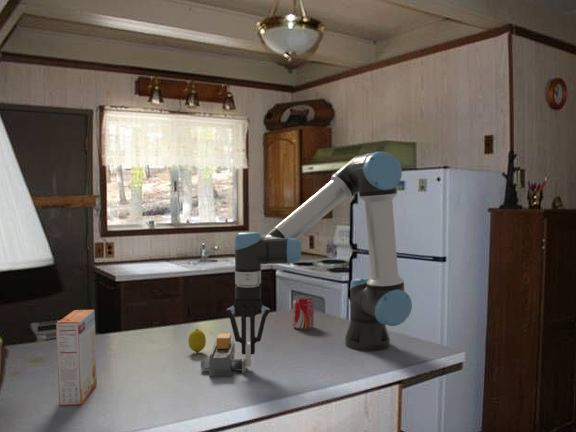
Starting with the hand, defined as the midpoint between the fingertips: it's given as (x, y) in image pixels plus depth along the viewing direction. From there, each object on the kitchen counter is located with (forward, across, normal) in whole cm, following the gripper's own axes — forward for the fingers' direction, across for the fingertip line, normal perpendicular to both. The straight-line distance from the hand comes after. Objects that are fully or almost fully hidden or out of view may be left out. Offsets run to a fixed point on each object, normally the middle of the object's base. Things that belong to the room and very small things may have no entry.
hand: (248, 365), depth 155 cm
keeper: (-4, -8, +6) cm, 10 cm away
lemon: (+2, -18, +18) cm, 25 cm away
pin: (+1, -7, 0) cm, 7 cm away
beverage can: (+2, +18, +50) cm, 53 cm away
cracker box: (+2, -43, -18) cm, 46 cm away
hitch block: (+2, -8, +2) cm, 8 cm away
